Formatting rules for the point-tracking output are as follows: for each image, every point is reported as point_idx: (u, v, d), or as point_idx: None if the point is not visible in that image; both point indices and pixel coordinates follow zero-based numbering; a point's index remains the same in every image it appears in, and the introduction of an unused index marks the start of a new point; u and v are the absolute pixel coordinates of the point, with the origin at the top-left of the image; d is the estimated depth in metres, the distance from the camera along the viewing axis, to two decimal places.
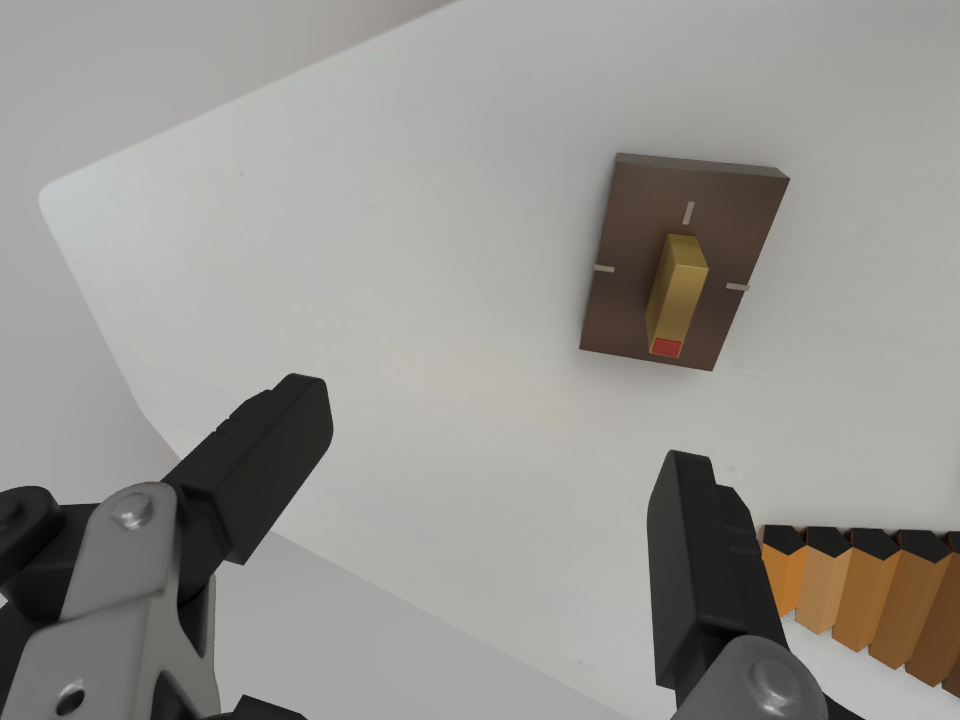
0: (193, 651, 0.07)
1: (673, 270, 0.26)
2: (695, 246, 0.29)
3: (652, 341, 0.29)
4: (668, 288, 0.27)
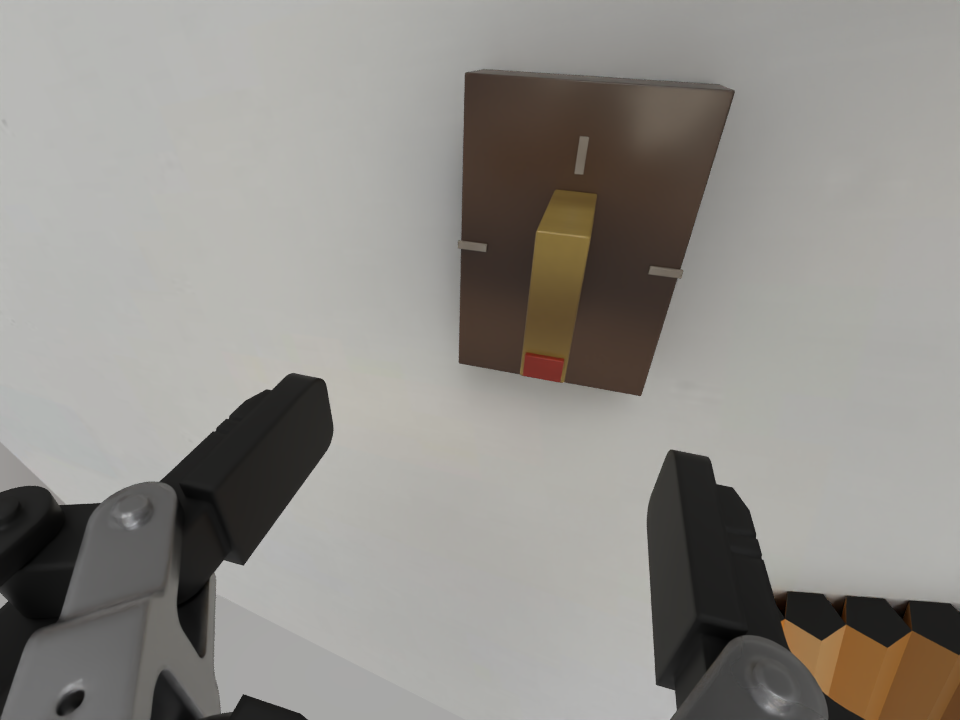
0: (193, 651, 0.07)
1: (535, 241, 0.16)
2: (587, 206, 0.18)
3: (522, 357, 0.18)
4: (532, 272, 0.16)
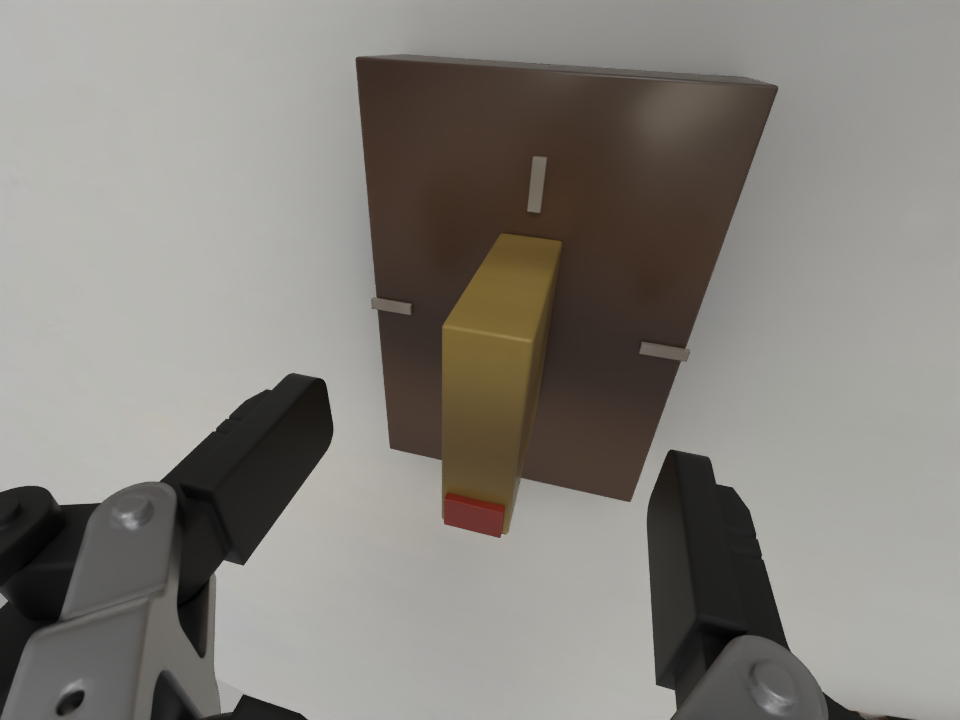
0: (193, 651, 0.07)
1: (443, 340, 0.09)
2: (542, 266, 0.11)
3: (442, 497, 0.12)
4: (443, 385, 0.10)
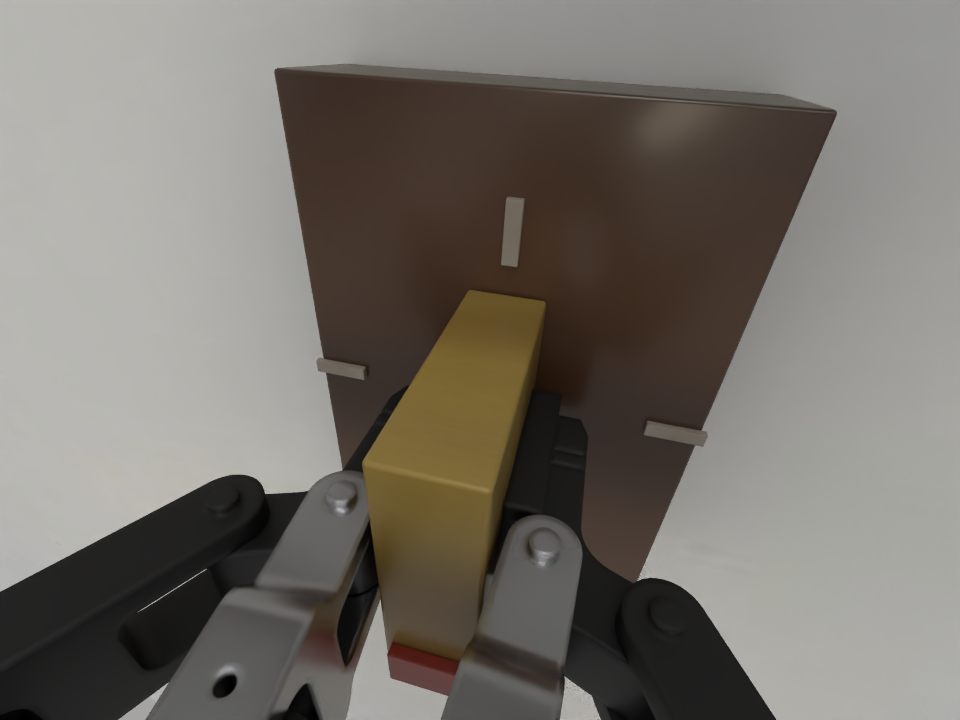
0: (340, 660, 0.07)
1: None
2: (517, 345, 0.09)
3: None
4: None
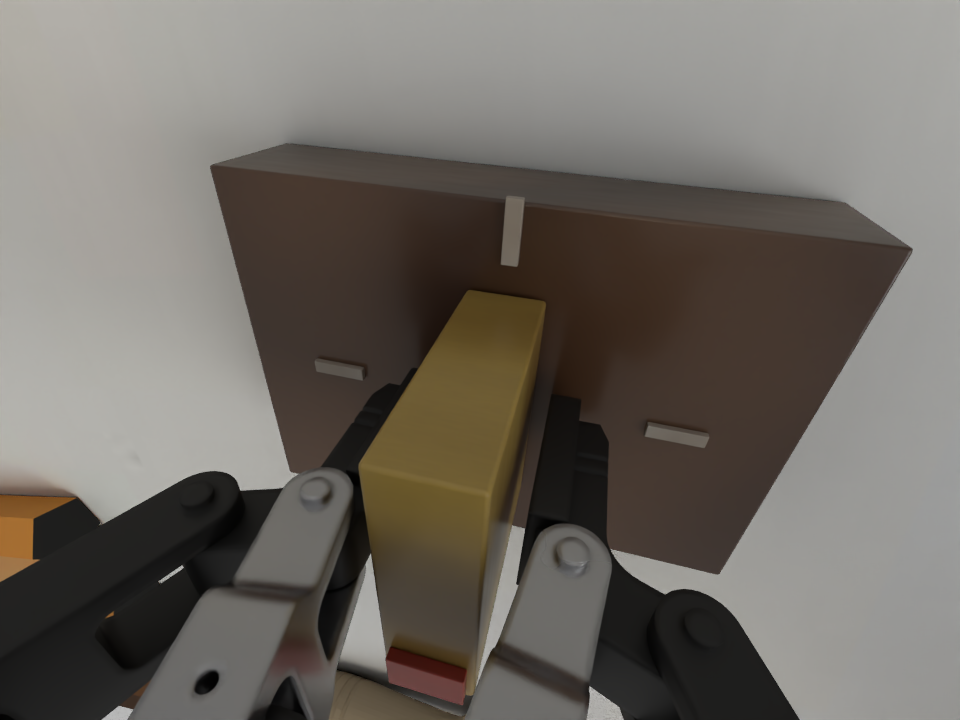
0: (322, 653, 0.07)
1: None
2: (517, 345, 0.09)
3: None
4: None
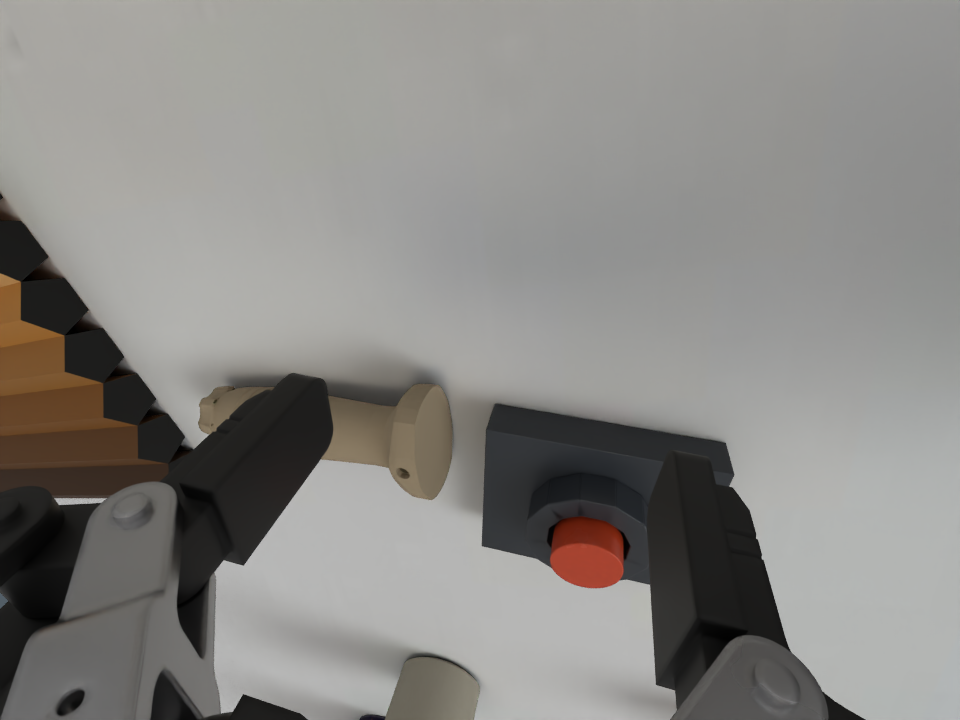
0: (193, 651, 0.07)
1: None
2: None
3: None
4: None
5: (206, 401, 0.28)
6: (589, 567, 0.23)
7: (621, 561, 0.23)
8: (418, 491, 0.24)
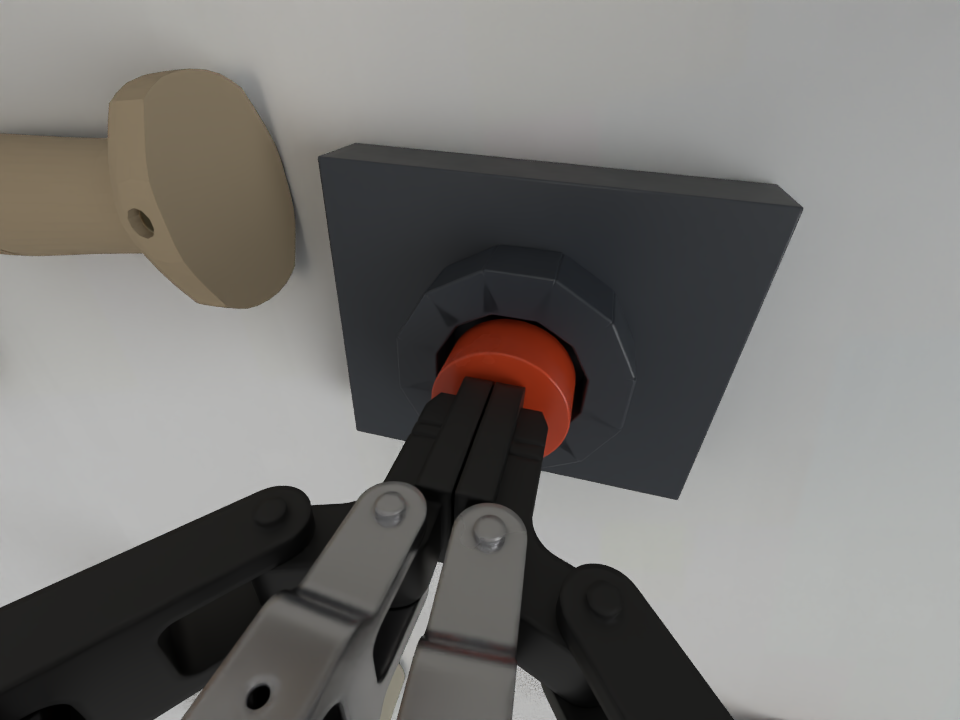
0: (374, 677, 0.07)
1: None
2: None
3: None
4: None
5: None
6: None
7: (565, 394, 0.11)
8: (186, 274, 0.13)
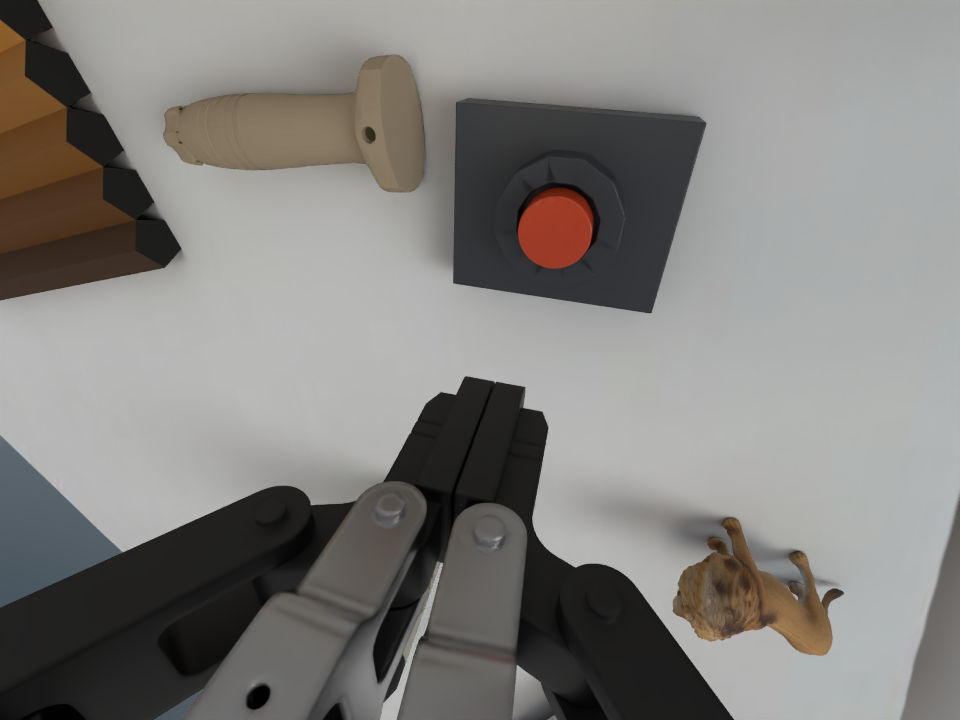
0: (374, 678, 0.07)
1: None
2: None
3: None
4: None
5: (171, 109, 0.27)
6: (557, 233, 0.23)
7: (589, 219, 0.22)
8: (385, 165, 0.24)
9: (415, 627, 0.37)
